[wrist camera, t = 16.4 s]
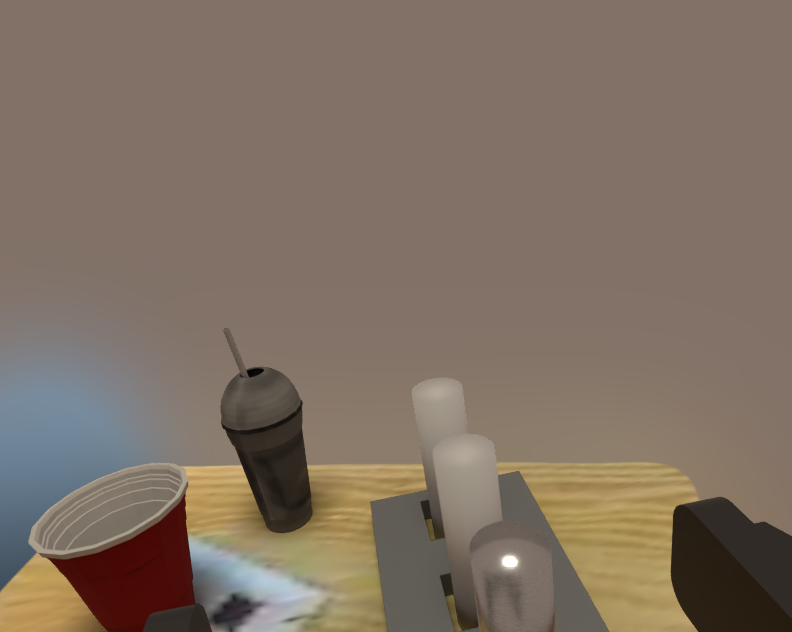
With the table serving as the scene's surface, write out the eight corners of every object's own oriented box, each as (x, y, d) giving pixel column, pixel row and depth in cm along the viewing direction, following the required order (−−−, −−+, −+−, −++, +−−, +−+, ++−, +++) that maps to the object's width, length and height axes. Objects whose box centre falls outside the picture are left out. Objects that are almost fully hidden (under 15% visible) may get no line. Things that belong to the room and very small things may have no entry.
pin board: (419, 850, 30) (374, 646, 25) (373, 519, 54) (346, 384, 49) (680, 785, 31) (685, 576, 26) (520, 488, 55) (507, 353, 50)
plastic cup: (200, 552, 54) (162, 439, 49) (248, 622, 45) (208, 493, 41) (71, 624, 48) (17, 503, 44) (100, 720, 39) (36, 580, 35)
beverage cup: (339, 518, 55) (295, 320, 48) (266, 555, 52) (207, 349, 45) (308, 483, 61) (265, 303, 54) (241, 514, 58) (186, 327, 51)
